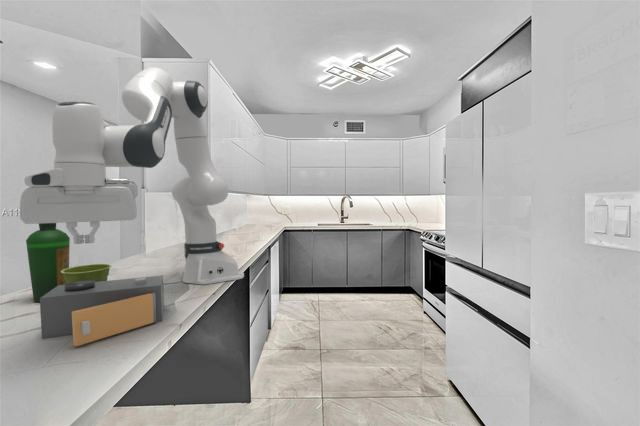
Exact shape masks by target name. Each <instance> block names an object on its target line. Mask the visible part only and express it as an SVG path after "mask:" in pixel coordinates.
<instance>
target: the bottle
mask: <svg viewBox="0 0 640 426" xmlns="http://www.w3.org/2000/svg"><path fill="white" fill-rule="evenodd" d="M38 227H39V229H38V230H35V231H34V232H32V233H30V234H29V236H28V237H27V239H26V240H25V242H26V243H25V244H26V250H27V258H28V259H27V260H28V268H29V274H30V282H31V290H32V298H33V301H34V302H36V303H40V298H41V297H42V296H44V295H45V294H47V293H48V292H49V291H51V290H52V289H54V288H55V287H57V286H58V285H66V284H67V282H66V281H65V278H64V275H63V273H61V271H62V270H64V269H67V268H70V248H71V245H70V243H71V242H70V241H71V238H70V236H68V234H67V233H66V232H64V231H63V230H60V229H59V228H58V229H57V223H39V224H38Z"/></svg>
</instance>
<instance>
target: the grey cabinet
mask: <svg viewBox="0 0 640 426" xmlns="http://www.w3.org/2000/svg"><path fill="white" fill-rule="evenodd" d="M164 291H165V289H164V275H155V276H154V275H151V276H142V277H133V278H123V279H122V278H121V279H110V280H107V281H99V282H95V281H92V280H86V281H77V282H72V283H68V284H66V285H58V286H57V287H55V288H54V289H52V290H51V291H49V292H48V293H47V294H45V295H44V296H42V297H41V298H40V302H39V307H40V309H39V310H40V327H41V329H40V330H41V339H48V338H55V337H61V336H68V335H73V329H72V312H73V311H77V310H81V309H86V308H90V307H94V306H98V305H103V304H107V303H111V302H115V301H120V300H124V299H128V298H132V297H137V296H141V295H145V294H149V293H155V296H156V322H155V323H157V322H158V321H159V322H163V318H164V312H165V293H164ZM159 322H158V323H159Z"/></svg>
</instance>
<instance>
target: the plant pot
mask: <svg viewBox="0 0 640 426" xmlns="http://www.w3.org/2000/svg"><path fill="white" fill-rule="evenodd" d="M110 268H112V265H111V264H109V263H95V264H93V263H92V264H84V265H77V266H76V265H75V266H71V267H69V268H67V269H64V270H62V271H61V273H63V275H64V278H65V281H66V282H67V284H68V283H72V282H77V281H86V280H92V281H95V282H99V281H108V276H109V273H110Z"/></svg>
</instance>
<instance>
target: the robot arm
mask: <svg viewBox="0 0 640 426" xmlns="http://www.w3.org/2000/svg"><path fill="white" fill-rule="evenodd" d="M121 101H122V103H123V106H124V108H125V109H126V111H127V112H128V113H129V114H130V115H131V116H133V118H135V119H137V120H140V121H141V122H144V123H141V124H132V125H127V124H126V125H111V124H109V123H108V122H106V121H105V120H104V119H103V118H102V113H101V109H100V106H99V105H97V104H96V103H92V102H87V101H63V102H60V103H57V104H56V105H55V107H54V110H53V115H52V130H51V131H52V144H53V146H54V149H55V157H54V160H53V169H49V170H43V171H41V172H37V173H36V172H35V173H32V174H29V175H26V176H25V177H24V179H23V180H24V181H23V182H24V184H25V186H27V188H25V189H24V190H23V192H21V195H20V203H19V218H20V220H21V221H22V222H23V223H24V224H25V225H32V224H35V225H36V224H38V225H39V223H56V224H62V223H63V224H65V227H66V229H67V230H68V232H69V233H70V235H71V236H72V237H73V244H74V245H80V244H95V242H96V241H95V240H96V239H95V235H96V233H97V232H98V229H99V228H100V227H101V222H112V221H113V222H117V221H133V220H135V219H137V217H138V208H137V202H136V197H137V196H138V186H137V184H136V182H134V181H132V180H130V178H129V179H128V178H122V179H119V178H107V174H106V171H107V169H106V168H131V167H132V168H133V167H134V168H144V169H145V168H148V169H152V168H154V167H156V166H157V165H158V164H160V163H161V162H162V160H163V158H164V156H165V152H166V150H165V149H166V140H167V137H168V132H169V129H170V126H171V121H172V118H173V132H174V133H173V134H174V140H175V141H174V143H175V147H176V152H177V158H178V162H179V164H181V165H182V166H183V167H184V168H185V170H186V172H187V174H188V176H189V177H188V176H187V177H184V178H181V179H180V180H177V181H176V182H174V184H173V185H172V188H171V194H172V197H173V200H175V202H177V204H178V206H179V208H180V211H181V215H182V218H183V222H184V223H183V224H184V234H185V235H184V238H185V243H184V246H183V251H184V254H183V255H184V258H185V263H184V271H183V276H182V280H181V281H182V282H183V283H186V284H195V285H210V284H216V283H217V284H218V283H222V282H229V281H234V280H235V281H236V280H241V279H243V278H244V277H245V273H244V272H243V271H242V270H239V268H238V266H239V265H238V263H237V261H236V259H235V258H233V257H232V256H230V255H229V254H227V253H226V252H225V251H223V249H224V248H225V244H224V243H223V242H221V241H217V222H216V220H215V218H214V217H213V216H212V215H211V213H210V211H209V208H208V206H215V205H218V204H221V203H223V202H224V201H225V200H227V198H228V196H229V186H228V183H227V182H226V180H224V178H222V177H221V176H220V175H219V173H218V172H217V170H216V168H215V166H214V164H213V161H212V157H211V154H210V147H209V143H208V142H209V141H208V136H207V130H206V125H205V123H204V122H205V121H204V120H203V114H204V113H205V112H206V110H207V107H208V102H209V101H208V95H207V92H206V89H205V88H204V86H203V85H202V84H201V83H200V82H199V81H196V80H186V81H173V79H172V77H171V76H170V74H168V72H167V71H165V70H164V69H163V68H160V67H155V66H151V67H147V68H144V69H142V70H141V71H139V72H137V74H135V75H134V76H132V78H131V79H130V80H129V81H128V82H127V83H126V84H125V85H124V87H123V89H122V92H121ZM88 222H89V225H90V228H92V229H91V231H90V232H89V234H79V232H78V230H77V229H76V228H77V227H78V223H88Z"/></svg>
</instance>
